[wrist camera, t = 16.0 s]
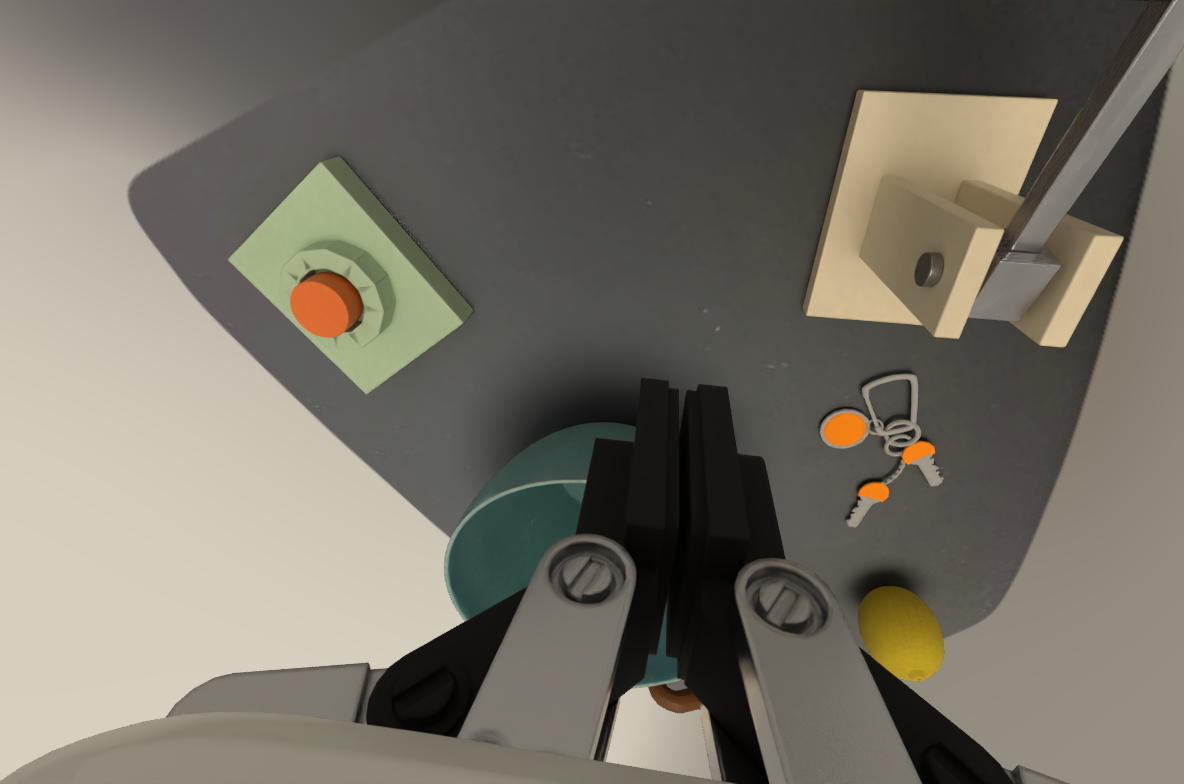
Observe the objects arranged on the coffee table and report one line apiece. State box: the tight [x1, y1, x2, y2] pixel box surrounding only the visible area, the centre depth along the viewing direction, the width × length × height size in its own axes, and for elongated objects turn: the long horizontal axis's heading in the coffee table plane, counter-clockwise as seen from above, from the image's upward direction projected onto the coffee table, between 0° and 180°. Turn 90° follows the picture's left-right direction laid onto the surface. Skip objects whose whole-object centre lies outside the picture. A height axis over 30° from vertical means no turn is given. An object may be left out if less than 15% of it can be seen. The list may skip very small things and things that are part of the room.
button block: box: [228, 156, 473, 394], centre depth 35 cm, size 12×10×4 cm
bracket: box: [803, 90, 1123, 347], centre depth 26 cm, size 12×9×12 cm
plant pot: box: [444, 422, 682, 688], centre depth 38 cm, size 18×18×12 cm
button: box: [290, 272, 362, 338], centre depth 33 cm, size 4×4×2 cm
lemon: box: [858, 586, 944, 682], centre depth 42 cm, size 6×6×8 cm
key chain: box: [819, 374, 943, 527], centre depth 38 cm, size 13×7×1 cm, turn 21°
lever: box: [968, 0, 1184, 322], centre depth 19 cm, size 12×5×2 cm, turn 178°
